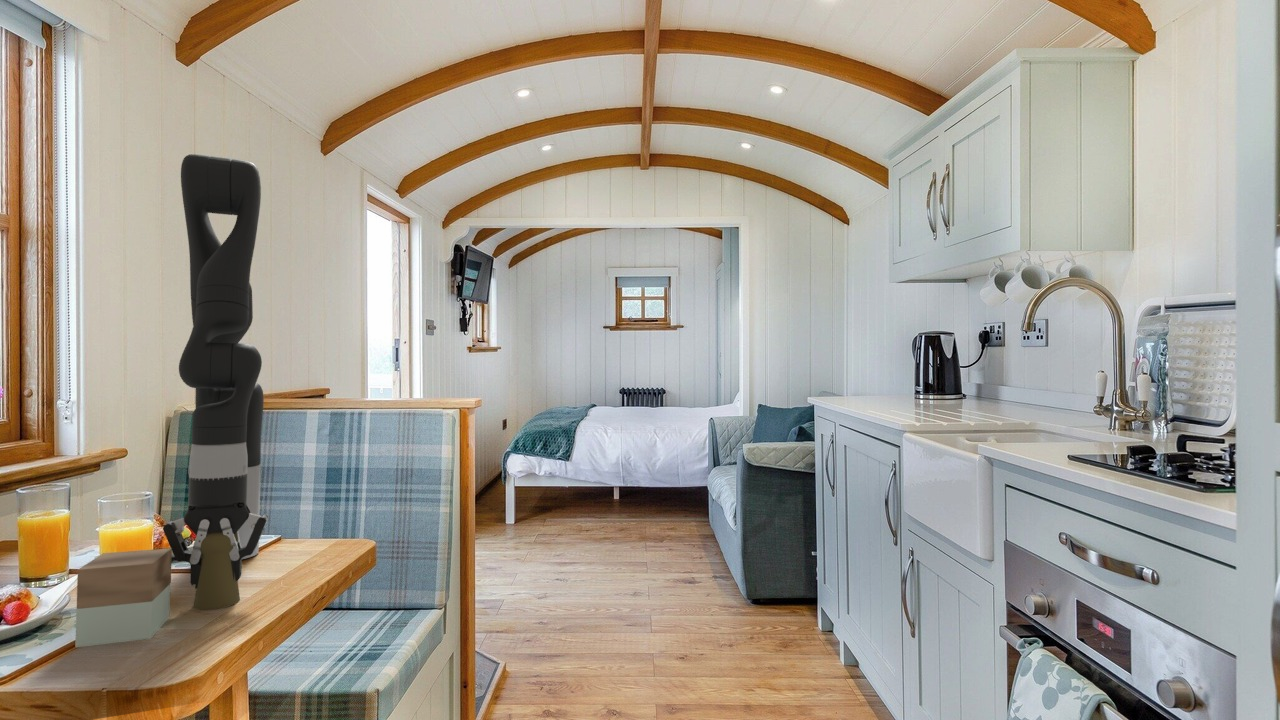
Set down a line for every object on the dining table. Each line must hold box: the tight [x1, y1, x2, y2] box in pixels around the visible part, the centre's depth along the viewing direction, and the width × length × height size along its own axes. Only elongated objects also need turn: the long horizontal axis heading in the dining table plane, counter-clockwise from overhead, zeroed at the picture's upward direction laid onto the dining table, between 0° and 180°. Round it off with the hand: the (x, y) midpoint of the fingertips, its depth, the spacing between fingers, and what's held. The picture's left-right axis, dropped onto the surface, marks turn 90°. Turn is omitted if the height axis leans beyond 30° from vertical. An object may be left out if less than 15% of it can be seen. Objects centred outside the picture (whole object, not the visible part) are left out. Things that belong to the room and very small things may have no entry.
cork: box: [193, 532, 241, 611], centre depth 99 cm, size 6×6×11 cm
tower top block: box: [76, 547, 173, 609], centre depth 88 cm, size 8×8×5 cm
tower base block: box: [74, 583, 171, 648], centre depth 88 cm, size 8×8×5 cm
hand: (215, 584), depth 98 cm, fingers closed on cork, 3 cm apart
